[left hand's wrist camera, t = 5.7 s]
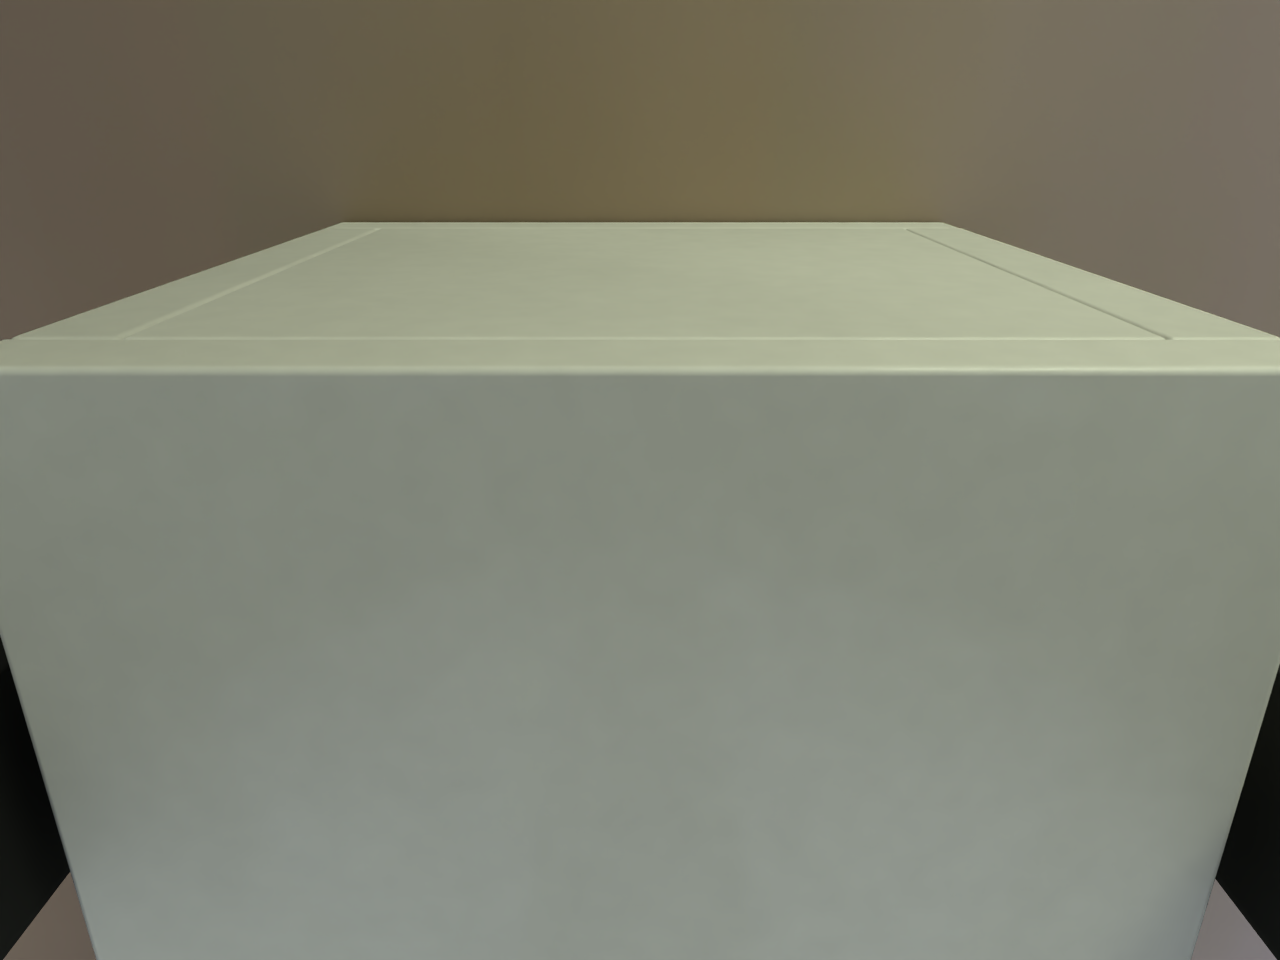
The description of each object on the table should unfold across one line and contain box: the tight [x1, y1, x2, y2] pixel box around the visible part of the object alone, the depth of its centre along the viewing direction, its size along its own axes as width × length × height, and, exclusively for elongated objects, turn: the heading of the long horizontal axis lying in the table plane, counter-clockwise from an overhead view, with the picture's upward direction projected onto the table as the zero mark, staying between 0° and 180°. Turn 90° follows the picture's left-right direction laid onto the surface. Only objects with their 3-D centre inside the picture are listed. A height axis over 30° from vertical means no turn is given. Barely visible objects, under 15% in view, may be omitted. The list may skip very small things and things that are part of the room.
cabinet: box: [0, 222, 1280, 960], centre depth 16 cm, size 18×12×11 cm, turn 0°
